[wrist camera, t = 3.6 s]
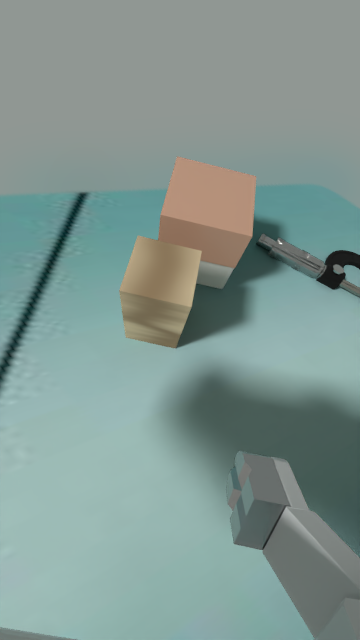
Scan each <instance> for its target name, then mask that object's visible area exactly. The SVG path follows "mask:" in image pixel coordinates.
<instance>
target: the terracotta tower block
mask: <svg viewBox="0 0 360 640" xmlns="http://www.w3.org/2000/svg"><path fill="white" fill-rule="evenodd" d="M255 186H256V176H253V175H249V174H245V173H240V172H237V171H233V170H229V169H225V168H221V167H217V166H213V165H209V164H205V163H201V162H197V161H193V160H189V159H185V158H181V157H177V159H176V162H175V166H174V169H173V173H172V176H171V180H170V184H169V187H168V190H167V194H166V198H165V201H164V205H163V208H162V212H161V216H160V227H159V238H158V241H162V242H166V243H170V244H175V245H179V246H183V247H187V248H191V249H195V250H200V251H202V253H201V258H200V260H201V261H205V262H209V263H214V264H218V265H222V266H227V267H231V268H235V267H236V265H237V263H238V262H239V260H240V258H241V256H242V254H243V253H244V251H245V249H246V247H247V245H248V243H249V242H250V240H251V238H252V234H253V218H254V202H255Z"/></svg>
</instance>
